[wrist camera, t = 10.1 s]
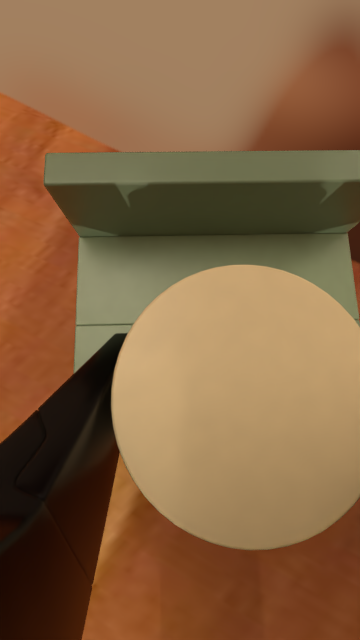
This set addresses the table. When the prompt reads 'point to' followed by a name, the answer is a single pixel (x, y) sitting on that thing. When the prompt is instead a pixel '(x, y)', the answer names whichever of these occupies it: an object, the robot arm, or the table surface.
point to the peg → (242, 407)
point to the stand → (200, 224)
